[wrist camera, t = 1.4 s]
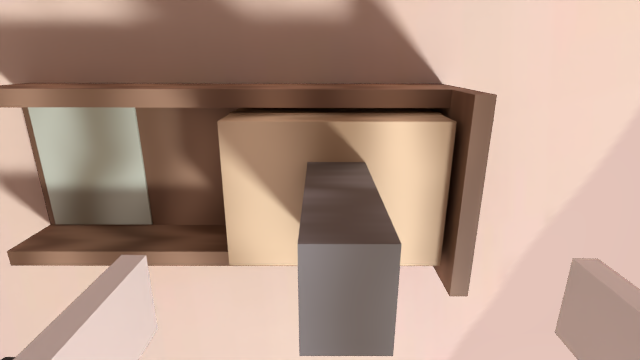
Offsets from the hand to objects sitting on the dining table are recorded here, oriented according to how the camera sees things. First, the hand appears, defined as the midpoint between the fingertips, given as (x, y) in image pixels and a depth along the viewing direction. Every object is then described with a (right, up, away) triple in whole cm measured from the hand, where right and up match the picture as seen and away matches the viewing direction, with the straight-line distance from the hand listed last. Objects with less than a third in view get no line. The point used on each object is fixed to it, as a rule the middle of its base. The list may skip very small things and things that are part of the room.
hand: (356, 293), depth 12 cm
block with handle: (0, +4, +14) cm, 15 cm away
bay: (-7, +5, +15) cm, 17 cm away
